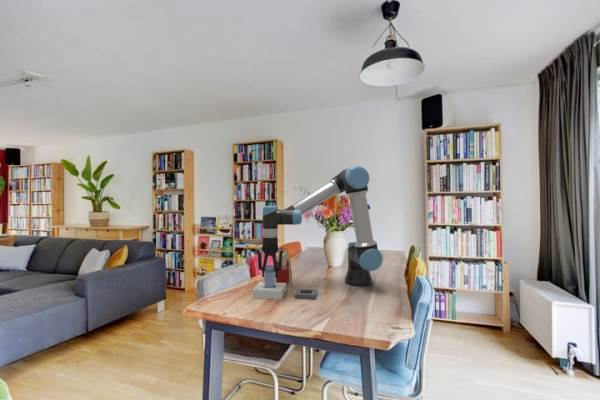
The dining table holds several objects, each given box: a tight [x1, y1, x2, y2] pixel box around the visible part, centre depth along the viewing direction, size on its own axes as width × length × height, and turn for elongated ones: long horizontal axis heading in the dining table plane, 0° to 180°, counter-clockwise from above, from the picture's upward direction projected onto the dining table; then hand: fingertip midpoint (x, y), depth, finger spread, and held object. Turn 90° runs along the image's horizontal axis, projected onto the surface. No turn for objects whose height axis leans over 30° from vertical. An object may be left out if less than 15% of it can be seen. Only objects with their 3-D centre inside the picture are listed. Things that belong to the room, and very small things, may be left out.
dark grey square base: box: [294, 287, 318, 301], centre depth 143 cm, size 10×10×2 cm
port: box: [251, 281, 287, 301], centre depth 146 cm, size 14×14×4 cm
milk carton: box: [276, 247, 293, 287], centre depth 164 cm, size 9×9×20 cm
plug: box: [265, 264, 275, 288], centre depth 146 cm, size 4×4×12 cm
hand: (270, 283), depth 146 cm, fingers closed on plug, 4 cm apart
